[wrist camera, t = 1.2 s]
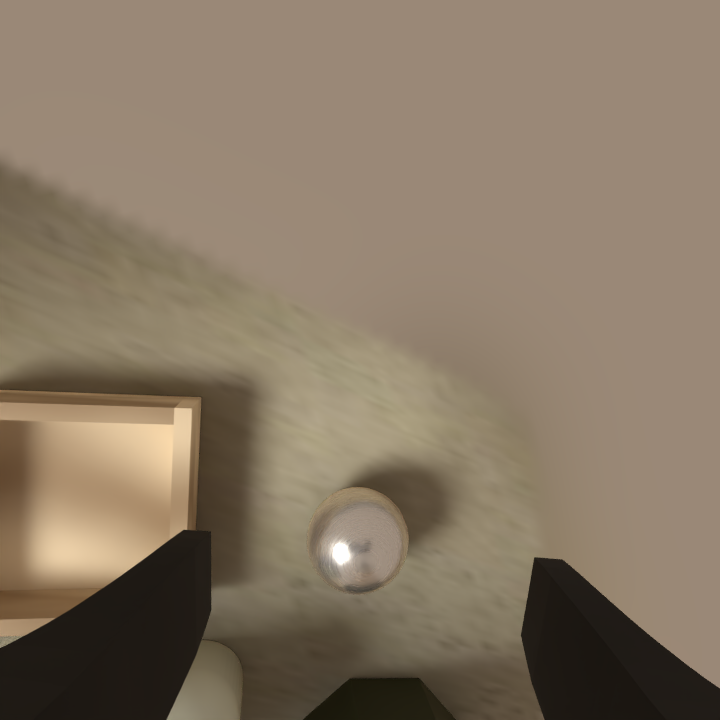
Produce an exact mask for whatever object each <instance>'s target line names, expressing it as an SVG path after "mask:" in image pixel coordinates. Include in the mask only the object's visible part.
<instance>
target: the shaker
mask: <svg viewBox="0 0 720 720" xmlns="http://www.w3.org/2000/svg"><path fill="white" fill-rule="evenodd" d="M242 688H243V670H242V666H241V663H240V661H239V659H238V657H237V656H236V654H235V653H234V652H233V651H232V650H231V649H229V648H228V647H226V646H225V645H223V644H221V643H218V642H215V641H210V640H201V643H200V646H199V649H198V652H197V655H196V657H195V659H194V661H193V664H192V666H191V668H190V670H189V672H188V675H187V677H186V679H185V681H184V683H183V685H182V688H181V690H180V692H179V694H178V696H177V698H176V701H175V703H174V705H173V707H172V709H171V711H170V713H169V715H168V718H167V720H240V714H241V701H242Z"/></svg>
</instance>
